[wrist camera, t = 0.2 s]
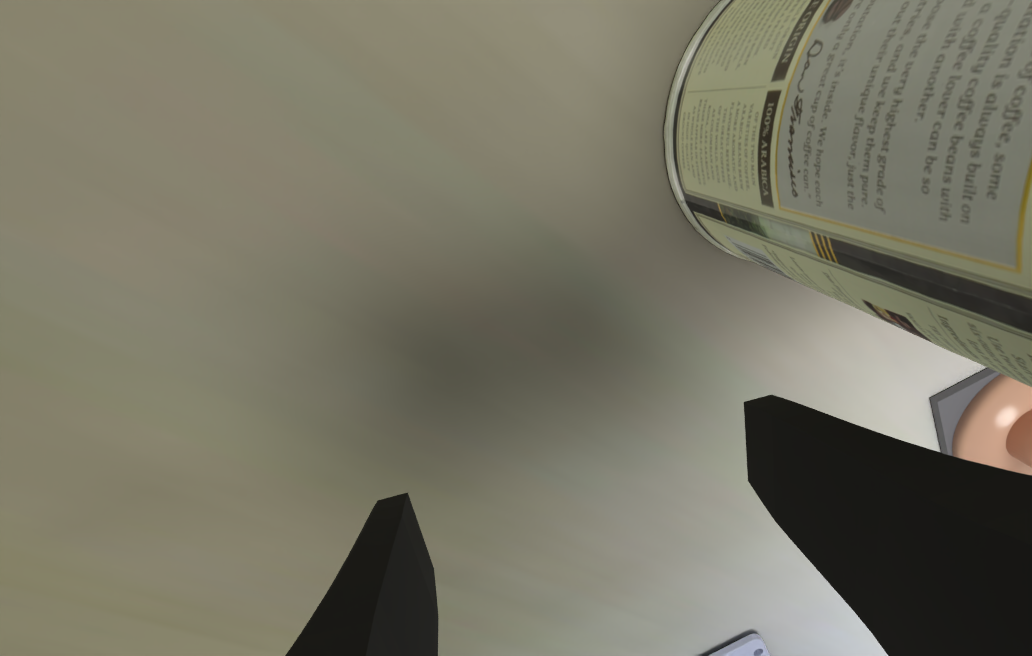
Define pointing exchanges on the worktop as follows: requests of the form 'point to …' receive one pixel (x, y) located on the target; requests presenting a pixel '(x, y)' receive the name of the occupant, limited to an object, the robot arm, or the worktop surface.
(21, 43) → the worktop surface
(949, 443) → the coaster
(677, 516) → the worktop surface
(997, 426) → the lid
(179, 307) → the worktop surface
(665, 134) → the coffee can
